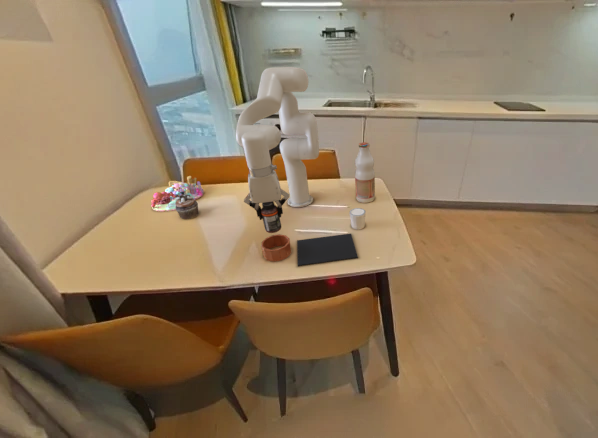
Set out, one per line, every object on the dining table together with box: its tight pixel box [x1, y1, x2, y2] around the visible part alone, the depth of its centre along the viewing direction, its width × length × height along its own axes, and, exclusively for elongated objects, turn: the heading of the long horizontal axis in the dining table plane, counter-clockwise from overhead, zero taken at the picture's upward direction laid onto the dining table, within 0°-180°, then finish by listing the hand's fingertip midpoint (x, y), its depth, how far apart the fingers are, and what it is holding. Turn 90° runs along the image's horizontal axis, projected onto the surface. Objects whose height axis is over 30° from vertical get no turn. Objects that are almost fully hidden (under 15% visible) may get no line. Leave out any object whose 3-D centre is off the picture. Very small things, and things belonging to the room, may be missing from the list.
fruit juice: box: [354, 141, 376, 204], centre depth 150 cm, size 9×9×28 cm
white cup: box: [349, 207, 366, 230], centre depth 134 cm, size 7×7×7 cm
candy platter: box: [150, 175, 205, 212], centre depth 162 cm, size 25×24×9 cm
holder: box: [260, 233, 292, 262], centre depth 120 cm, size 10×10×5 cm
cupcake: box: [175, 193, 200, 220], centre depth 147 cm, size 10×10×10 cm
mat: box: [296, 233, 359, 267], centre depth 122 cm, size 16×22×1 cm
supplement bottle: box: [261, 201, 282, 234], centre depth 113 cm, size 6×6×11 cm
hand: (270, 216), depth 113 cm, fingers closed on supplement bottle, 6 cm apart
